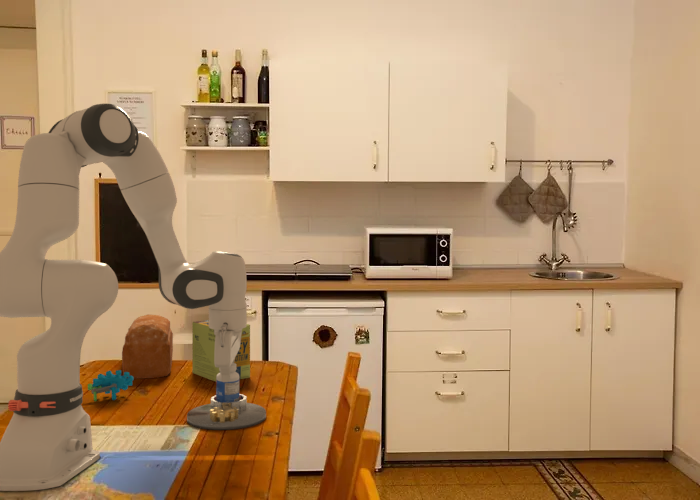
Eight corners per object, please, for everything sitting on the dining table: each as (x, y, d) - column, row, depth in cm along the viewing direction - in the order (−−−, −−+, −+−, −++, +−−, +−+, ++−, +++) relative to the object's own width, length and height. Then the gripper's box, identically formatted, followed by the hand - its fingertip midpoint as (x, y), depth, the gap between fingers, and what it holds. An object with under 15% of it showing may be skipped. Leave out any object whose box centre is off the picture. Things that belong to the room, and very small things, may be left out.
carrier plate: (262, 429, 150) (262, 413, 150) (179, 430, 149) (179, 413, 149) (268, 406, 168) (268, 391, 168) (194, 406, 167) (194, 392, 167)
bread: (120, 380, 193) (120, 325, 192) (129, 360, 219) (128, 312, 218) (171, 378, 196) (170, 324, 195) (173, 358, 222) (173, 310, 221)
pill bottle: (213, 403, 164) (213, 362, 163) (235, 400, 166) (235, 360, 165) (219, 409, 159) (219, 367, 158) (242, 406, 161) (242, 365, 160)
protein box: (219, 383, 190) (219, 328, 189) (191, 373, 201) (191, 321, 200) (251, 377, 197) (251, 324, 196) (222, 368, 208) (222, 318, 208)
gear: (137, 383, 179) (128, 364, 172) (138, 403, 176) (130, 384, 168) (93, 393, 177) (82, 374, 170) (94, 413, 174) (83, 395, 166)
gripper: (236, 327, 151) (236, 389, 152) (245, 313, 171) (245, 368, 172) (207, 327, 151) (207, 389, 151) (219, 313, 171) (220, 368, 172)
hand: (227, 377), depth 162 cm, fingers closed on pill bottle, 5 cm apart
